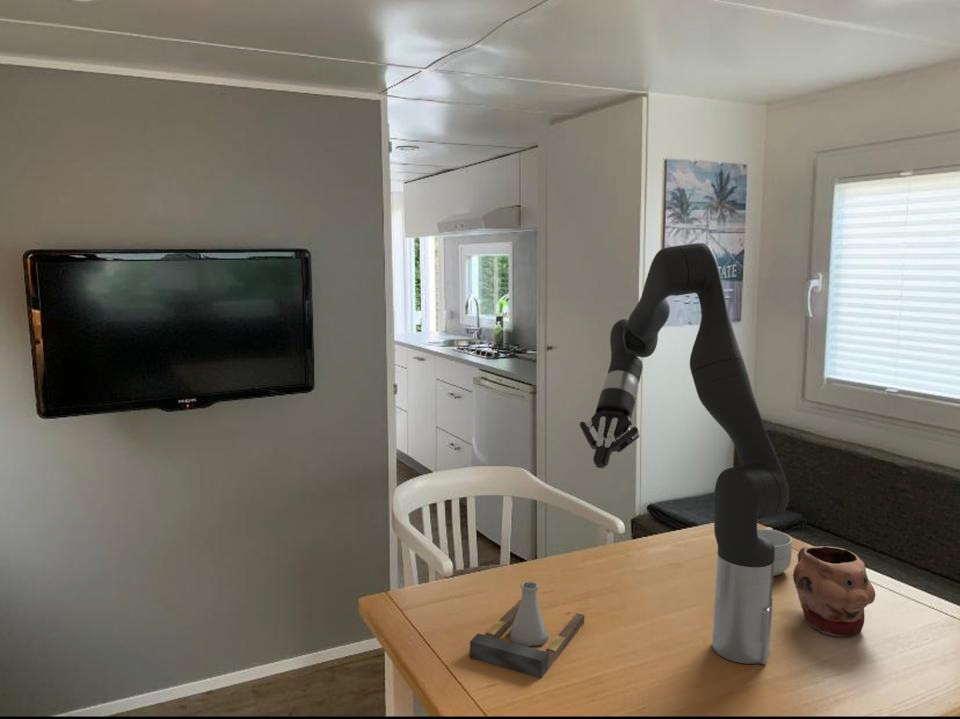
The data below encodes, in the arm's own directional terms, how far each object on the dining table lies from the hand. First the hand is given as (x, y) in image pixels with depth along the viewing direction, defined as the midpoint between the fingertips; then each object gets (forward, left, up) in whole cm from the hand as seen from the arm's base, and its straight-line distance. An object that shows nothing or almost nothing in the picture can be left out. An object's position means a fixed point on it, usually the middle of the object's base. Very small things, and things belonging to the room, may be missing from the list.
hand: (599, 466), depth 149 cm
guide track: (+4, +24, -27) cm, 36 cm away
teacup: (-30, -30, -27) cm, 50 cm away
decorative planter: (-43, -9, -27) cm, 51 cm away
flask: (+5, +24, -27) cm, 36 cm away
